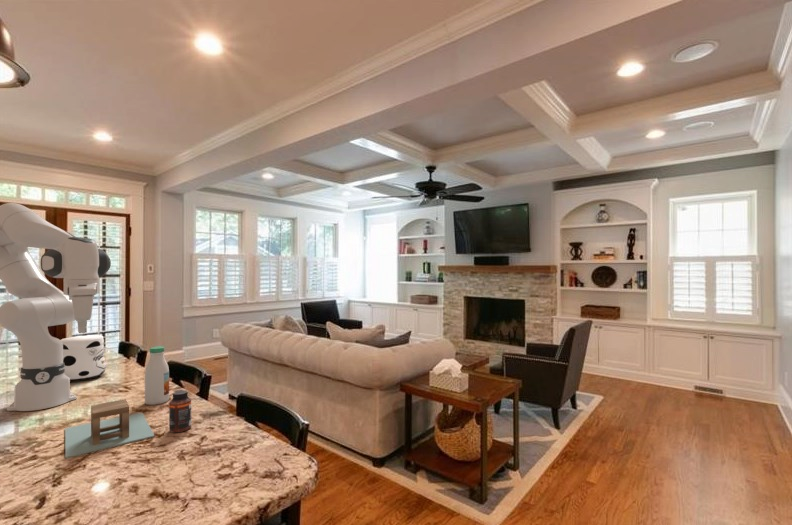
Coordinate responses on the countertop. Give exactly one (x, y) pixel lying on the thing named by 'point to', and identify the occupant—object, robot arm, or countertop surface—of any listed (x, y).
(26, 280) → the robot arm
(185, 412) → the supplement bottle
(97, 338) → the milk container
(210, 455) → the countertop surface
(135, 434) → the mat
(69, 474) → the countertop surface
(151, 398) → the milk bottle
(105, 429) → the open wooden box
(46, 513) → the countertop surface
